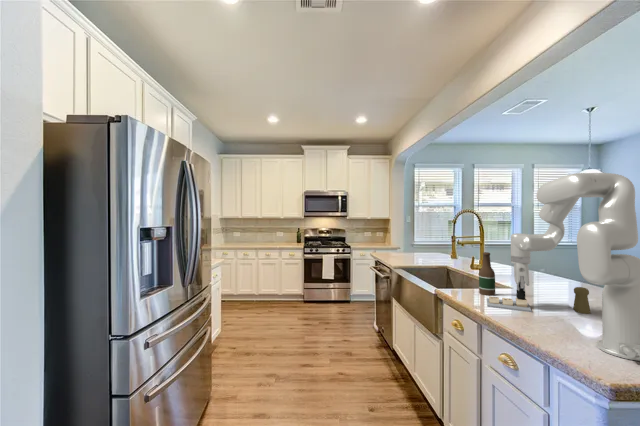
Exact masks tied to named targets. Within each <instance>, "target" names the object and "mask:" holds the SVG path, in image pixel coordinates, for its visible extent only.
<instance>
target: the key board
mask: <svg viewBox="0 0 640 426" xmlns="http://www.w3.org/2000/svg"><path fill="white" fill-rule="evenodd" d="M486 306H487V308H493V309H502V310H510V311H518V312H525V313H526V312H527V313H532V312H533V311H532V309H531V307H530V305H529V303H528V302H527V307H518V306H516V300H513V306H510V305H503V304H502V299H500V298H499V304H493V303H489V297H486Z"/></svg>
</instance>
